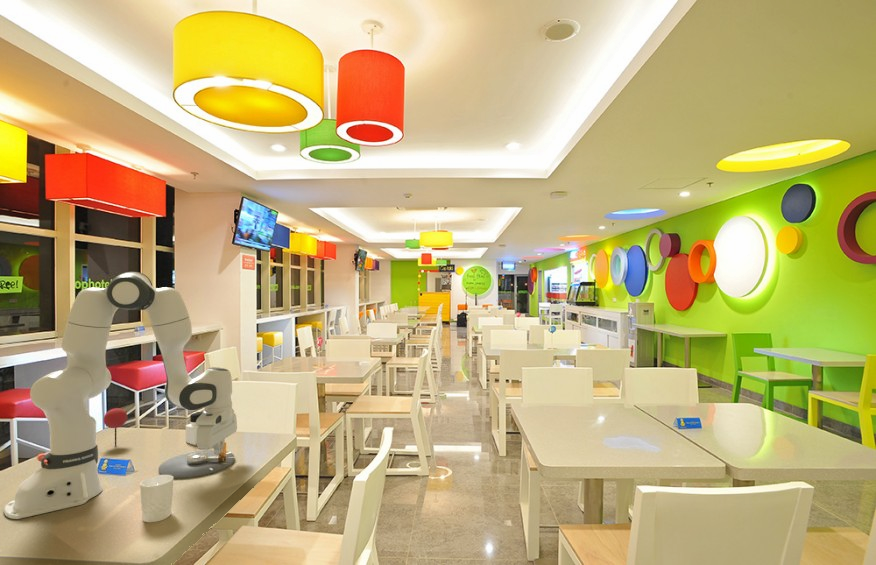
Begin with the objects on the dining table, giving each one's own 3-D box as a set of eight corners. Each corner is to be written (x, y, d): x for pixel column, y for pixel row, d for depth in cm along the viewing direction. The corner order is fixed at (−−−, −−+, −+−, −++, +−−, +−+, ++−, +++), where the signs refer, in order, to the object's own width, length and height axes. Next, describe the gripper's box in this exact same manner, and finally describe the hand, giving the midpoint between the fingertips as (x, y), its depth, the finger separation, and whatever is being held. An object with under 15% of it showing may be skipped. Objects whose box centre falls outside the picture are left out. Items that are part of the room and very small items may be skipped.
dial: (182, 464, 163) (182, 446, 163) (194, 457, 170) (194, 439, 170) (220, 465, 162) (220, 447, 162) (230, 457, 169) (230, 440, 169)
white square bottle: (211, 440, 194) (211, 411, 194) (195, 445, 188) (195, 415, 188) (201, 437, 197) (202, 409, 198) (185, 442, 191) (185, 413, 192)
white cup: (149, 526, 123) (149, 488, 123) (134, 519, 127) (134, 482, 128) (179, 514, 130) (179, 478, 130) (164, 507, 134) (164, 472, 134)
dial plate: (174, 485, 149) (174, 480, 150) (148, 466, 165) (148, 462, 165) (246, 463, 168) (246, 459, 168) (217, 448, 183) (217, 445, 183)
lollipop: (131, 443, 190) (131, 406, 191) (114, 449, 183) (114, 411, 183) (116, 442, 192) (116, 405, 192) (98, 448, 185) (99, 410, 185)
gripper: (225, 406, 174) (225, 443, 174) (192, 421, 153) (192, 464, 153) (241, 406, 173) (241, 443, 173) (211, 421, 153) (211, 464, 153)
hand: (218, 453), depth 163 cm, fingers closed
